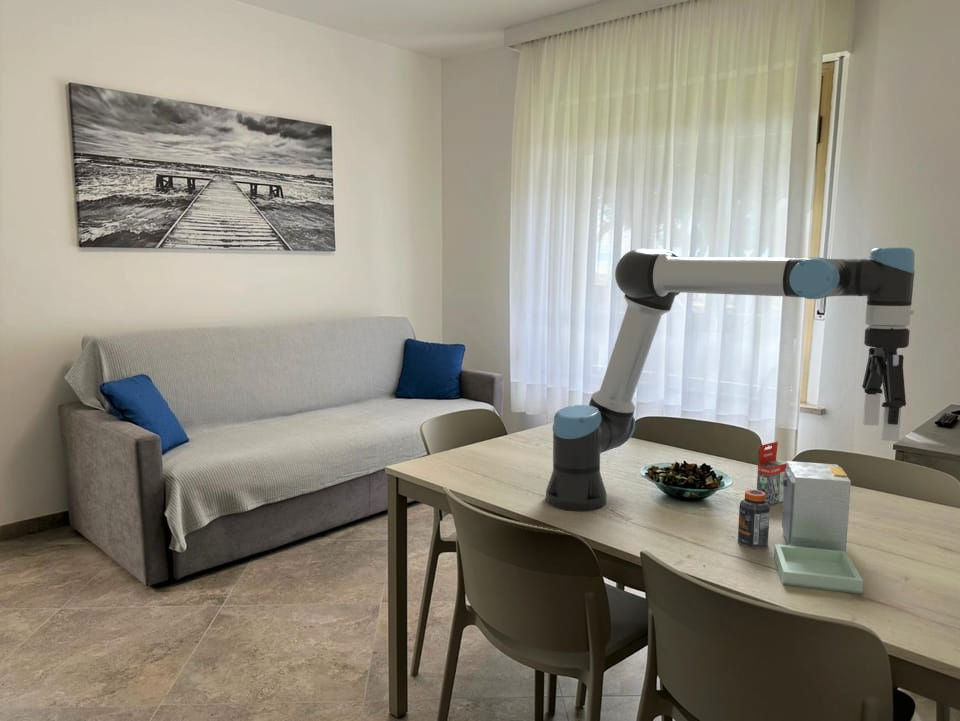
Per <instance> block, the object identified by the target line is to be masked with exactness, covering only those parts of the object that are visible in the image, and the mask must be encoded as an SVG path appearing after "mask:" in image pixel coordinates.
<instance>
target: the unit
mask: <svg viewBox="0 0 960 721" xmlns="http://www.w3.org/2000/svg"><path fill="white" fill-rule="evenodd" d="M786 462H787V464H786V469H785V477H784V479H783V486H784V494H783V502H782V518H781V529H782V534H783V535H784V539H785V541H786V544H787V545H788V546H797V547H807V548H817V549H826V550H836V551H845V552H847V545H848V531H849V530H848V529H849V528H848V527H849V516H850V515H849V514H850V501H851V500H850V499H851V498H850V497H851V483H852V481H851V480H850V478H849V477H848V475H847V473H846V472H845V471H844V469H843V468H842V467H841V466H839V465H838V464H834V463H833V464H832V463H822V462H821V463H820V462H819V463H818V462H806V461H805V462H804V461H792V460H787V461H786Z"/></svg>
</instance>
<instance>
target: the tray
mask: <svg viewBox="0 0 960 721" xmlns="http://www.w3.org/2000/svg"><path fill="white" fill-rule="evenodd" d="M773 547H774V548H773V557H774V560H775V563H776V567H777V571H778V573H779V576H780V579H781V582H782V585H783V586H792V587H798V588H807V589H815V590H826V591H832V592H833V591H834V592H839V593H841V592H842V593H849V594H856V595H857V594H858V595H863V592H864V591H863V590H864V579H863V577H862V576H861V575H860V574H861V573H860V572H859V571H858V569H857V568H856V566H855V564H854V562H853V561H852V558H851V557H850V555H849V554H848V552H847V551H846V552H845V551H836V550H826V549H817V548H807V547H797V546H788V544H787V545H786V544H776V543H775V544H774V546H773Z"/></svg>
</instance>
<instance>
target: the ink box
mask: <svg viewBox="0 0 960 721" xmlns="http://www.w3.org/2000/svg"><path fill="white" fill-rule="evenodd" d="M778 444H779V443H778V441H775V442H771V443H770V442H769V443H765V444H762V445H759V447H758V457H757V459H758V460H757V462H758V463H757V477H756V490H759V491H762V492H764V493H765V498H766V499H765V502H767V503H768V504H769V506H770V507H771V506H773V505H777V504H778V503H783V494H784V486H783V479H784V477H785V469H786V464H787V461H783V460H778V459H777V453H778V446H779V445H778ZM768 447H770V448H768Z"/></svg>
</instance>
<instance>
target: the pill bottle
mask: <svg viewBox="0 0 960 721" xmlns="http://www.w3.org/2000/svg"><path fill="white" fill-rule="evenodd" d="M765 499H766V498H765V493H764V492H762V491H759V490H757V489H746V490H745V491H744V499H742V500H740V502H739V509H738V528H737V529H738V530H737V542H738V543H739V544H740V545H741V546H744V547H747V548H750V549H763V548H767V547H768V545H769V533H770V532H769V531H770V530H769V528H770V519H771V518H770V514H771V513H770V510H771V508H770V507H771V506H769V504H768V503H767V502H765Z"/></svg>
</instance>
